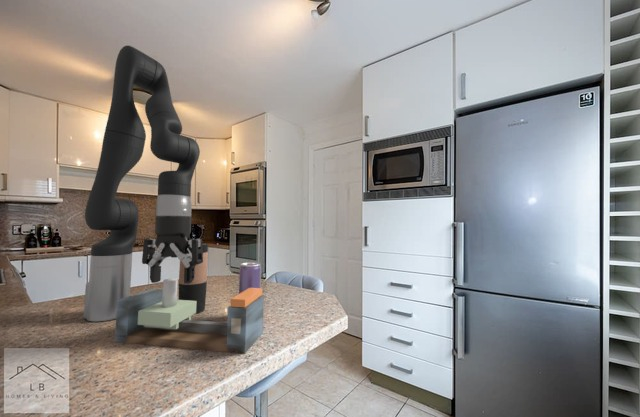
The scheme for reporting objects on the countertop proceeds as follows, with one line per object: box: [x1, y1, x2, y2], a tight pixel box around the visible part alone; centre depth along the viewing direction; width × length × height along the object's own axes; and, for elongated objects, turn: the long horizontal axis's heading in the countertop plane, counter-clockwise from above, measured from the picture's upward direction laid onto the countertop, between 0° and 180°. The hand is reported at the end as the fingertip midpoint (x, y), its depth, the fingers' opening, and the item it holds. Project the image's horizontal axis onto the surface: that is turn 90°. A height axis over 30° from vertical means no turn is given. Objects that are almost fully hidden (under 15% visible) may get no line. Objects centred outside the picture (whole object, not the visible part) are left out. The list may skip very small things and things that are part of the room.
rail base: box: [114, 288, 265, 354], centre depth 59 cm, size 30×10×9 cm, turn 82°
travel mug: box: [178, 243, 209, 315], centre depth 77 cm, size 8×8×20 cm
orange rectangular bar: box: [229, 287, 263, 308], centre depth 58 cm, size 3×10×2 cm, turn 172°
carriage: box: [138, 278, 197, 329], centre depth 61 cm, size 8×9×10 cm
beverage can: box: [238, 262, 262, 294], centre depth 72 cm, size 6×6×15 cm
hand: (171, 282), depth 61 cm, fingers open, 8 cm apart
